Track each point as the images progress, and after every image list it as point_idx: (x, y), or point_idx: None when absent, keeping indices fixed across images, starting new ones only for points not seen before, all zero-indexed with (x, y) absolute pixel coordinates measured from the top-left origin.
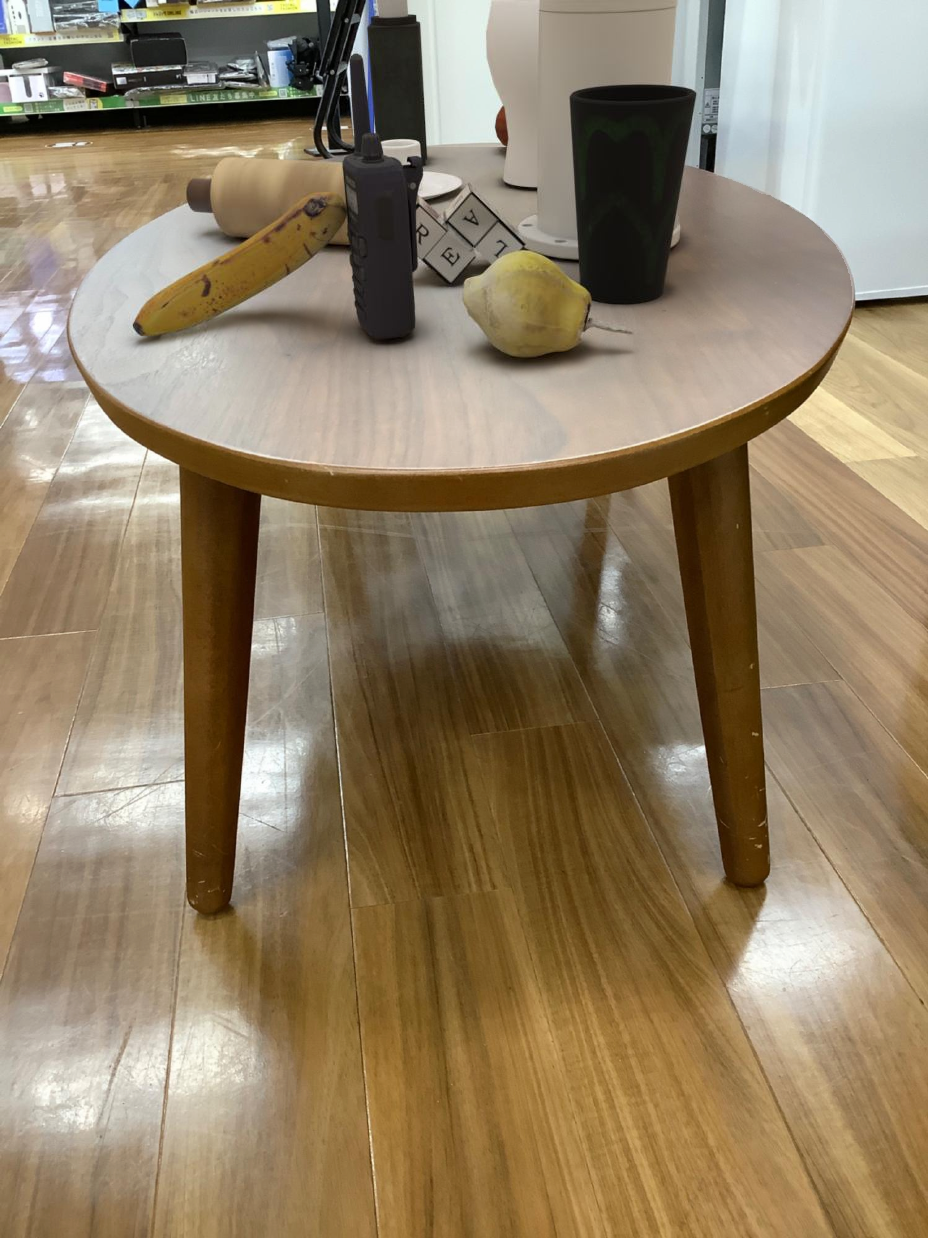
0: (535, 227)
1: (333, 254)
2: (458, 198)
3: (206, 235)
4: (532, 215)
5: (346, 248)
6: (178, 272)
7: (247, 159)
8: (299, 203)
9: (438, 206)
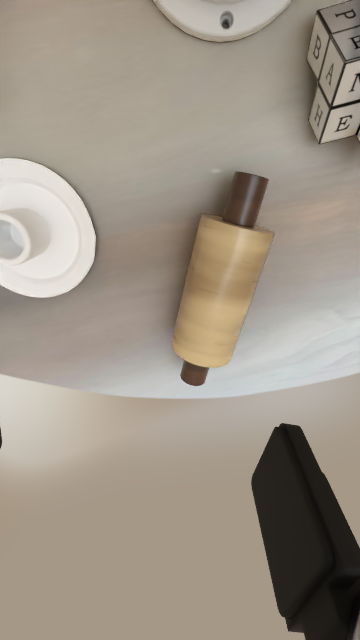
0: (238, 5)
1: None
2: (354, 80)
3: None
4: (179, 19)
5: None
6: (296, 342)
7: (212, 346)
8: None
9: (80, 175)
